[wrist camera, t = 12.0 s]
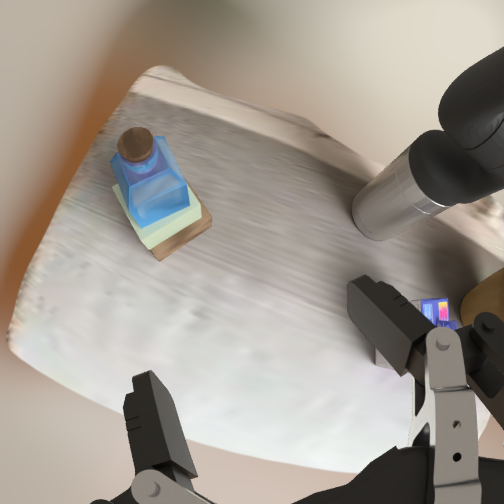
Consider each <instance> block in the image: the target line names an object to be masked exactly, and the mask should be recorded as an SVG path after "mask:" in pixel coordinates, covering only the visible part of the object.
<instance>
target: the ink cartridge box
mask: <svg viewBox="0 0 504 504" xmlns="http://www.w3.org/2000/svg"><path fill="white" fill-rule="evenodd" d="M408 302H411V303H412V304H413V305H414V306H415V307H416V308H417V309H418V310H419V311H420V312H421V313H422V314H423V315H425V316H426V317H427V318H428V319H429V320H430V321H431V322H432V323H433V324H434V325H435V326H437V327H447V328H449V326H450V329H452V330H456V329H457V325H456V320H453V321H449V312H448V298H432V299H420V300H413V301H408ZM376 366H379V367H384V368H389V369H393V370H394V368H393V367H392V366H391V365H390V364H389V363H388V361H387V360H386V359H385V358H384V357H383V356H382V355H381V353H380V352H379V351H378V350H377V349H376ZM408 373H410V372H408Z"/></svg>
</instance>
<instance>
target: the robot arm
mask: <svg viewBox="0 0 504 504" xmlns="http://www.w3.org/2000/svg"><path fill="white" fill-rule="evenodd" d="M438 117H439V122H440V124H441V126H442V128H443V130H444V131H441V130H430V131H427V132H425V133H423V134H422V135H420V136H419V137H418V138H417V139H416V140H415V141H414V142H413V143H412V144H411V145H410V146H409V147H408V148H407V149H406V150H404V152H402V153H401V154H400V155H399V156H398V157H397V158H396V159H395V160H394V161H393V162H392V163H390V165H388V166H387V167H386V168H385V169H384V170H383V171H382V172H381V173H379V174H378V175H377V176H376V177H375V178H374V179H373V180H372V181H371V182H369V183H368V184H367V185H366V186H365V187H364V188H363V189H362V190H360V191H359V192H358V193H357V194H356V196H355V197H354V199H353V203H352V216H353V219H354V222H355V224H356V226H357V228H358V229H359V230H360V231H361V232H362V233H363V234H364V235H365V236H367V237H368V238H370V239H373V240H376V241H383V240H387V239H389V238H391V237H393V236H395V235H397V234H400V233H402V232H404V231H406V230H408V229H410V228H412V227H414V226H416V225H418V224H420V223H422V222H423V221H425V220H427V219H429V218H431V217H433V216H435V215H437V214H439V213H441V212H443V211H444V210H446V209H448V208H450V207H452V206H454V205H456V204H458V203H462V204H466V203H471V202H474V201H476V200H479V199H481V198H483V197H486V196H488V195H490V194H492V193H495V192H497V191H499V190H502V189H504V47H502V48H501V49H499V50H497V51H495V52H494V53H492V54H490V55H488V56H487V57H485V58H483V59H482V60H480V61H479V62H477V63H476V64H474V65H473V66H471V67H469V68H468V69H467V70H465V71H464V72H463V73H462V74H461V75H459V76H458V77H457V78H456V79H455V80H454V81H453V82H452V84H451V85H450V86H449V87H448V89H447V90H446V91H445V93H444V95H443V96H442V99H441V101H440V104H439V108H438ZM347 310H348V314H349V316H350V318H351V320H352V322H353V323H354V324H355V325H356V326H357V327H358V328H359V330H360V331H361V332H362V333H363V334H364V335H365V336H366V338H367V339H368V340H369V341H370V342H371V343H372V344H373V345H374V347H375V348H376V349H377V350H378V351H379V352H380V353H381V355H382V356H383V357H384V358H385V359H386V360H387V361H388V363H389V364H390V365H391V366H392V367H393V368H394V370H395V371H396V372H397V373H398V374H399V375H400V376H401V377H402V376H403V375H405V374H406V373H407V372H410V373H411V374H412V421H411V426H410V430H409V436H408V447H405V448H401V449H397V447H396V446H395V447H393V448H392V449H390V450H389V451H387V452H386V453H384V454H383V455H381V456H380V457H378V458H376V459H375V460H373V461H372V462H370V463H369V464H368V465H367V466H366V467H365V468H364V469H363V470H362V471H361V472H360V473H359V474H358V475H357V476H356V477H355V478H354V479H353V480H352V481H351V482H349V483H348V484H346V485H343V486H340V487H336V488H332V489H328V490H325V491H321V492H317V493H314V494H312V495H310V496H308V497H306V498H303V499H301V500H299V501H297V502H295V503H292V504H504V460H501V459H493V458H486V457H479V456H478V431H477V415H476V403H475V394H476V395H477V396H478V398H479V399H480V400H481V401H482V403H483V404H484V405H485V406H486V408H487V409H488V410H489V412H490V413H491V414H492V415H493V417H494V418H495V419H496V421H497V422H498V423H499V424H500V426H501V427H502V428H503V430H504V322H503V321H502V320H501V319H500V318H499V317H498V316H496V315H495V314H493V313H490V312H481V313H479V314H478V315H477V316H476V317H475V319H474V321H473V323H472V324H470V325H467V326H465V327H462V328H459V329H456V330H452V329H450V328H447V327H437V326H435V325H434V324H433V323H432V322H431V321H430V320H429V319H428V318H427V317H426V316H425V315H423V314H422V313H421V312H420V311H419V310H418V309H417V308H416V307H415V306H414V305H413V304H412V303H411V302H408V300H407V299H406V298H405V297H404V296H402V295H401V293H400V292H398V291H397V290H396V289H395V288H394V287H393V286H391V285H389V284H386V283H384V282H382V281H380V282H378V283H375V282H374V281H373V280H372V279H371V278H370V277H368V276H367V275H363V276H361V277H359V278H357V279H355V280H353V281H351V282H349V283H348V285H347ZM491 361H492V362H493V363H492V362H491ZM499 370H500V371H499ZM132 383H133V389H134V392H132V393H129V394H126V397H125V401H124V405H123V411H124V417H125V421H126V428H127V431H128V439H129V443H130V448H131V453H132V458H133V462H134V467H135V478H134V479H133V482H132V485H131V486H130V488H129V489H128V490H126V491H125V492H123V493H122V494H120V495H119V496H117V497H115V498H114V499H113V500H111V501H107V500H102V499H99V500H95V501H93V502H92V503H90V504H217V503H215V502H213V501H212V500H210V499H208V498H207V497H205V496H203V495H202V494H200V493H198V492H197V491H195V490H194V488H193V485H192V483H191V480H190V479H193V478H196V477H198V475H197V472H196V469H195V466H194V464H193V461H192V458H191V455H190V452H189V449H188V446H187V443H186V440H185V437H184V434H183V431H182V427H181V424H180V421H179V418H178V414H177V411H176V408H175V404H174V401H173V399H172V397H171V395H170V393H169V391H168V390H167V388H166V387H165V386H164V385H163V384H162V382H161V381H160V380H159V379H158V377H157V376H156V375H155V374H154V373H153V371H151V370H149V371H147V372H144V373H141V374H139V375H136V376H133V377H132ZM467 384H468V385H469V387H468V386H467ZM474 393H475V394H474ZM503 446H504V443H503Z"/></svg>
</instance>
